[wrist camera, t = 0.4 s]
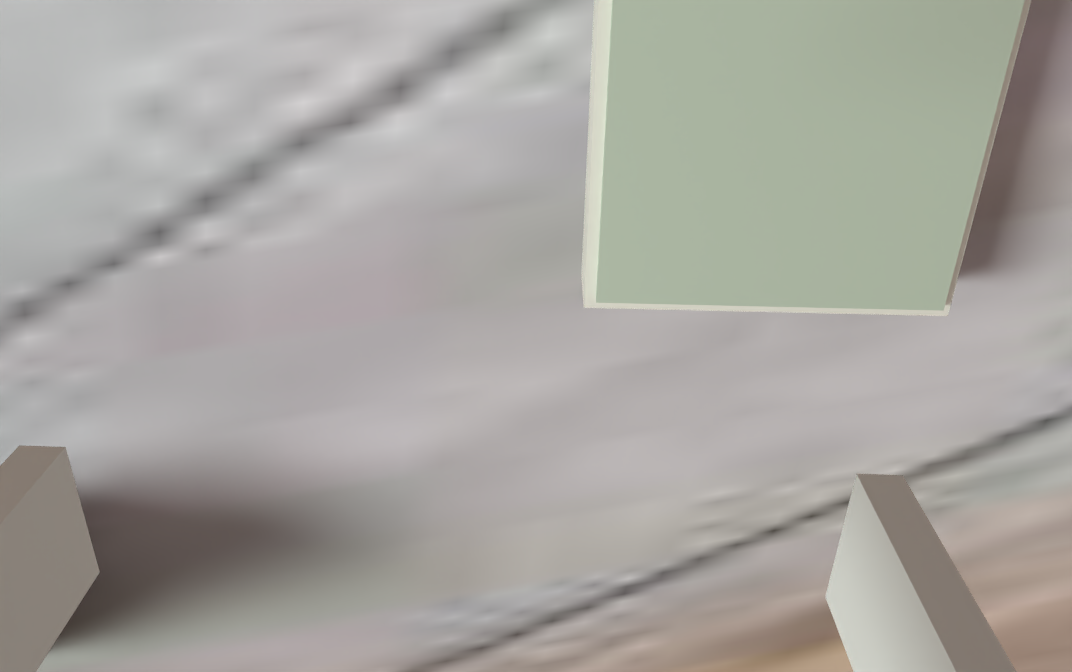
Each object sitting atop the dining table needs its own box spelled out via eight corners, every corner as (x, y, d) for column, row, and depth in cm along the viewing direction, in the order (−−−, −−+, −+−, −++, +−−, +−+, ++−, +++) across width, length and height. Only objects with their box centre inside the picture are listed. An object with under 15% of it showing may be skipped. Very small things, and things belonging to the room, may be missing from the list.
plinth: (598, -100, 34) (604, -97, 31) (1009, -92, 34) (1062, -89, 30) (581, 275, 42) (584, 312, 38) (918, 283, 41) (952, 321, 38)
